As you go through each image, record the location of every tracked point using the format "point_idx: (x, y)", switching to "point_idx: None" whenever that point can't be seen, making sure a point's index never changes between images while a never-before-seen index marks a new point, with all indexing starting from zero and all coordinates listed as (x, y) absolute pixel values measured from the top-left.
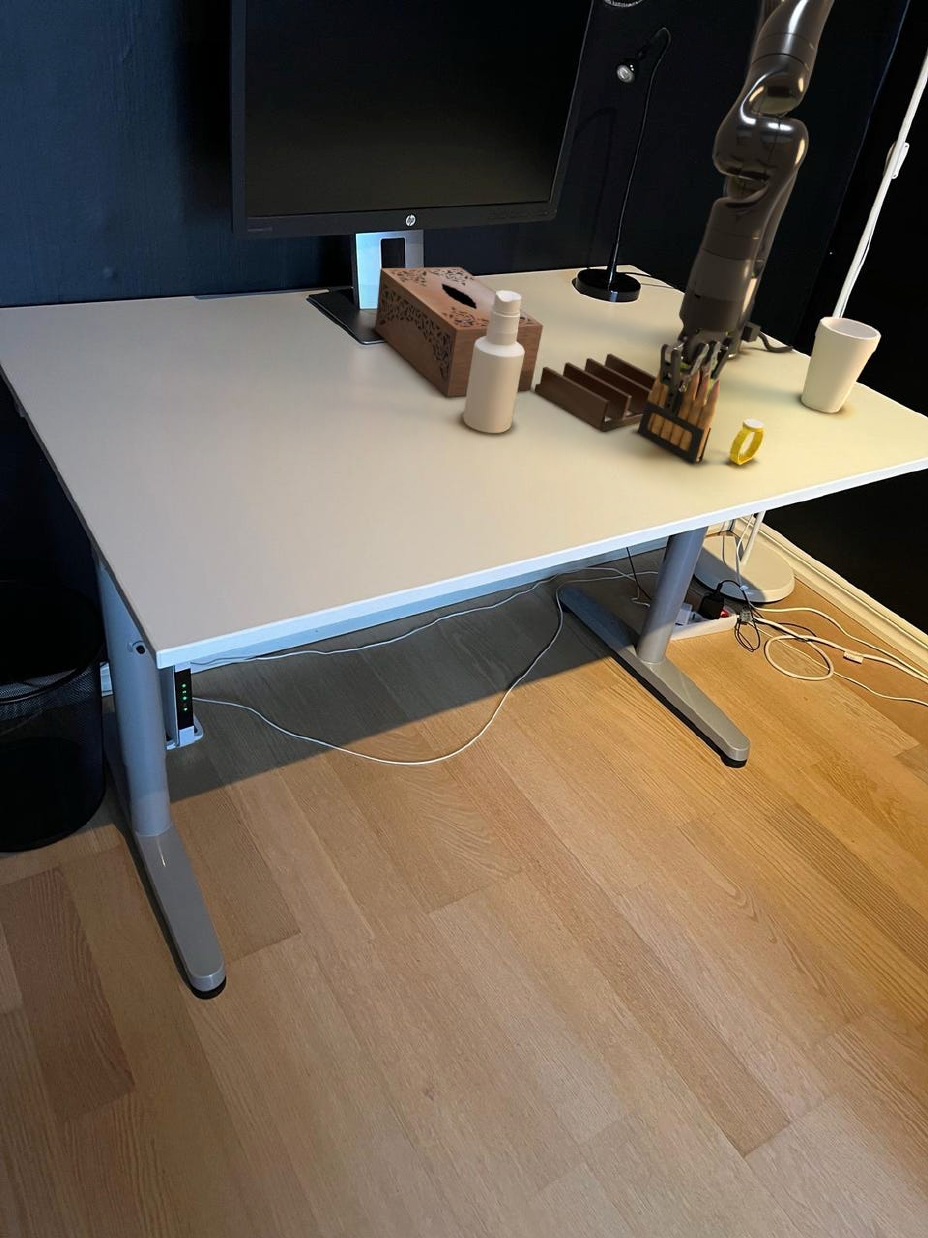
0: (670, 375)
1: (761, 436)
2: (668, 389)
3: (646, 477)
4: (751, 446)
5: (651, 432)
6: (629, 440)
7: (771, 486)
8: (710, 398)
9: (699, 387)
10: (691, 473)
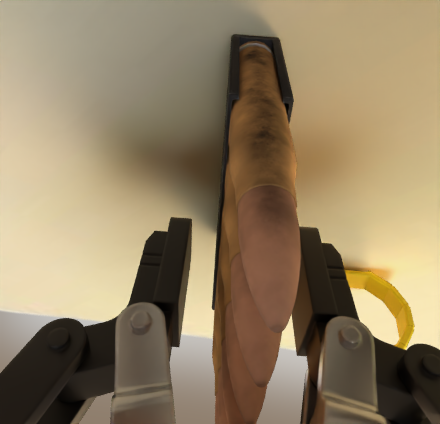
0: (115, 359)
1: (399, 333)
2: (129, 303)
3: (46, 215)
4: (390, 295)
5: (226, 108)
6: (153, 62)
7: (287, 333)
8: (215, 403)
9: (298, 347)
10: None
